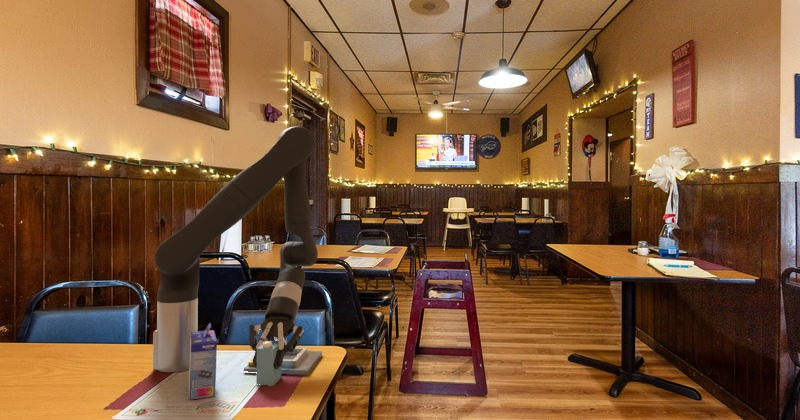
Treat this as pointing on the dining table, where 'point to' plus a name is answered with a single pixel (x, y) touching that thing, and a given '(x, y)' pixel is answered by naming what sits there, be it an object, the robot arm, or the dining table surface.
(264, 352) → the servo
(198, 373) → the ink cartridge box
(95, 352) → the dining table surface
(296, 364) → the plate
